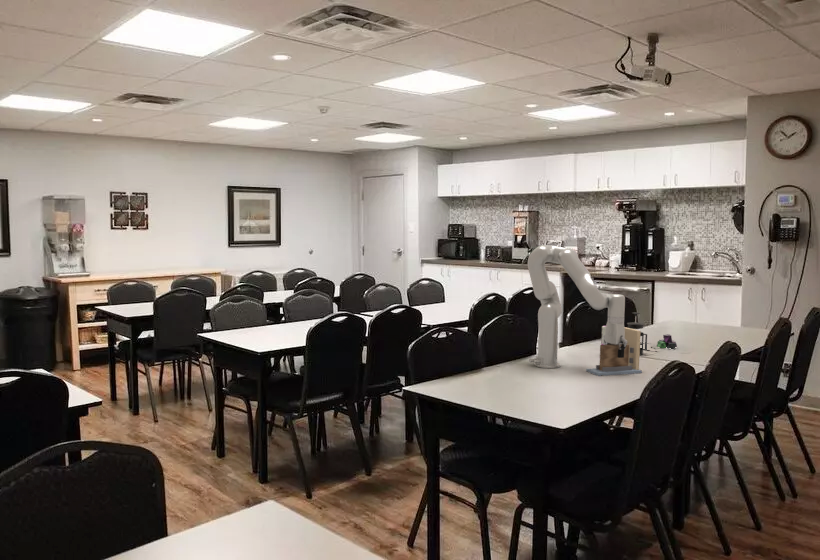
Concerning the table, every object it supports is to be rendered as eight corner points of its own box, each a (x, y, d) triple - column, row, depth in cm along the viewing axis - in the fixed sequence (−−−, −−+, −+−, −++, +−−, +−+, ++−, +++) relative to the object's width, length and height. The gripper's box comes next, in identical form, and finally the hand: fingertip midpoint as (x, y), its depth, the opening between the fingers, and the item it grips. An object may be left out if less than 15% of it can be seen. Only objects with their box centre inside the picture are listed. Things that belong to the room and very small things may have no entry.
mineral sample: (692, 356, 358) (693, 339, 357) (626, 348, 376) (627, 333, 376) (701, 350, 387) (702, 335, 387) (639, 344, 405) (640, 329, 405)
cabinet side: (598, 375, 305) (599, 333, 304) (574, 367, 324) (576, 327, 323) (641, 373, 313) (643, 331, 311) (616, 364, 332) (617, 325, 330)
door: (603, 371, 310) (604, 346, 309) (599, 369, 313) (600, 344, 312) (629, 369, 315) (630, 344, 314) (625, 368, 318) (626, 343, 317)
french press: (621, 354, 360) (623, 312, 358) (628, 351, 367) (629, 310, 365) (642, 356, 352) (644, 314, 351) (649, 354, 360) (650, 312, 358)
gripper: (598, 317, 319) (597, 352, 320) (620, 323, 302) (618, 359, 304) (611, 317, 321) (610, 352, 322) (634, 322, 305) (632, 358, 306)
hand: (614, 355), depth 313 cm, fingers open, 9 cm apart
